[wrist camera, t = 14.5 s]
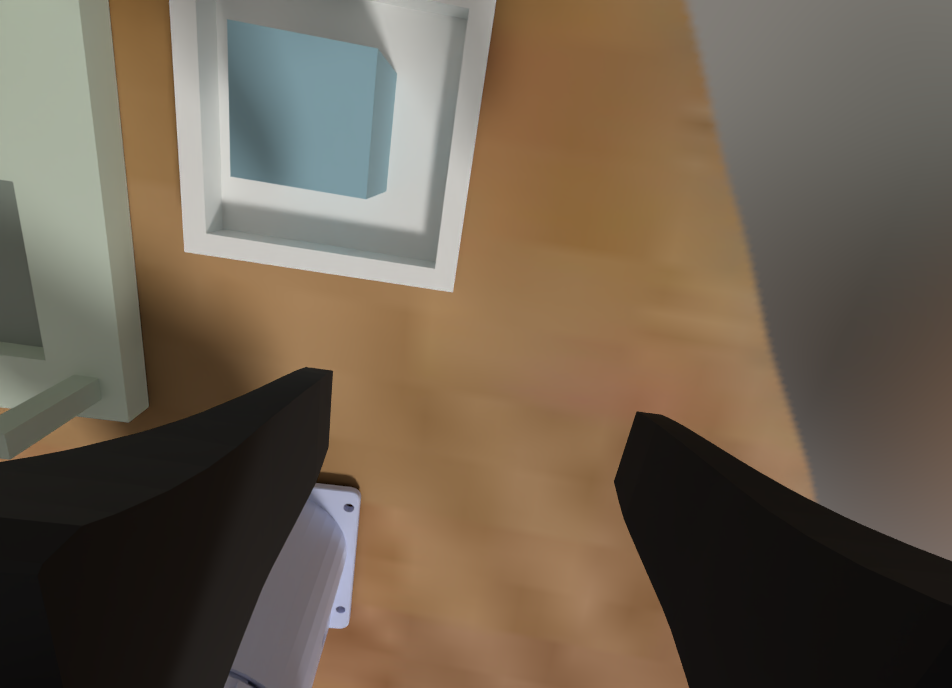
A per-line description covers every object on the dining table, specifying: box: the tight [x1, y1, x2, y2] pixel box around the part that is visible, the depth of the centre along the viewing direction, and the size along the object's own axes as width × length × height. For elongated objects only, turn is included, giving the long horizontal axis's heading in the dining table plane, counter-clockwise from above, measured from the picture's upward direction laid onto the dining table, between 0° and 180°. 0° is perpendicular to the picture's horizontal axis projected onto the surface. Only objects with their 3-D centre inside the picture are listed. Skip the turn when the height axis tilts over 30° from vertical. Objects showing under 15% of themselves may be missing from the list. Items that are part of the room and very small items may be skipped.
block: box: [227, 19, 397, 199], centre depth 15 cm, size 4×4×4 cm
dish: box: [169, 0, 496, 292], centre depth 17 cm, size 10×10×2 cm
